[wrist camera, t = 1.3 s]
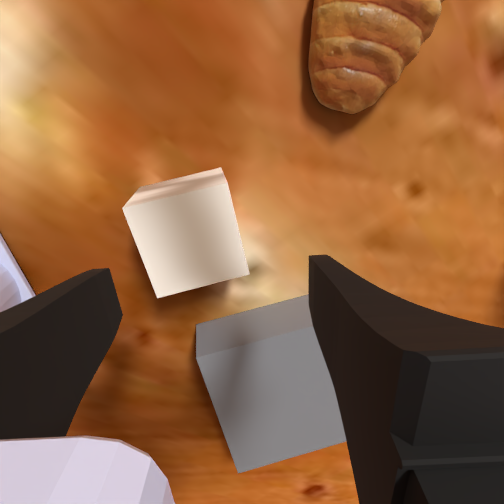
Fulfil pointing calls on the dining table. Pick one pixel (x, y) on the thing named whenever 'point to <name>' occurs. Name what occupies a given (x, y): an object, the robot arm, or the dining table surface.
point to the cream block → (187, 232)
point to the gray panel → (269, 383)
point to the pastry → (364, 47)
